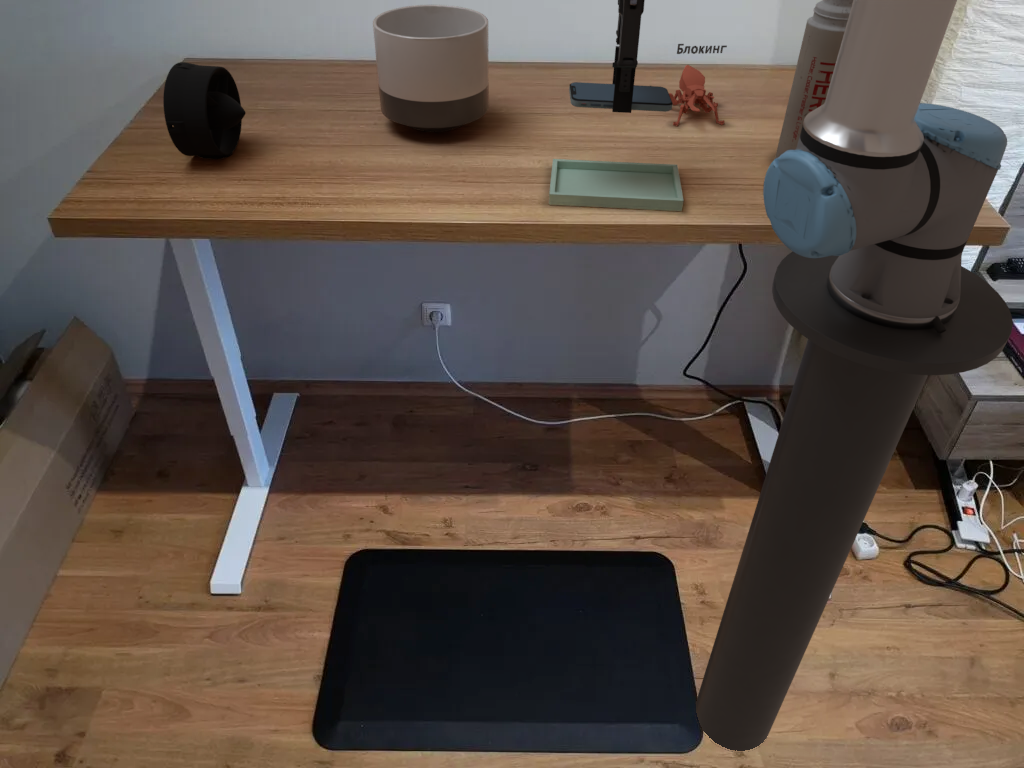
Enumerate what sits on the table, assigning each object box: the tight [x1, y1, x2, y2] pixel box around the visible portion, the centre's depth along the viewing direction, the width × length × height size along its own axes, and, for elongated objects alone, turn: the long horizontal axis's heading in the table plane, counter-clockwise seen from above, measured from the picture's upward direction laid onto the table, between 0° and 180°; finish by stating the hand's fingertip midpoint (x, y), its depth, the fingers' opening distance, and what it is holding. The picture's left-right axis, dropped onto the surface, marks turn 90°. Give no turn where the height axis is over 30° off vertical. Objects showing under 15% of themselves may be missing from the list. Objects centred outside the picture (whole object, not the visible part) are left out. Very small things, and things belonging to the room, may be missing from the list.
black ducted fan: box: [162, 61, 247, 160], centre depth 130 cm, size 14×14×10 cm
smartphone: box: [568, 81, 673, 113], centre depth 120 cm, size 8×2×15 cm
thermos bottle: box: [774, 0, 853, 160], centre depth 125 cm, size 8×8×28 cm
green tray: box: [548, 158, 684, 212], centre depth 126 cm, size 13×20×2 cm, turn 85°
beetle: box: [668, 43, 728, 127], centre depth 146 cm, size 15×12×13 cm
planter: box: [372, 4, 490, 133], centre depth 140 cm, size 19×19×18 cm
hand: (621, 100), depth 121 cm, fingers closed on smartphone, 8 cm apart
